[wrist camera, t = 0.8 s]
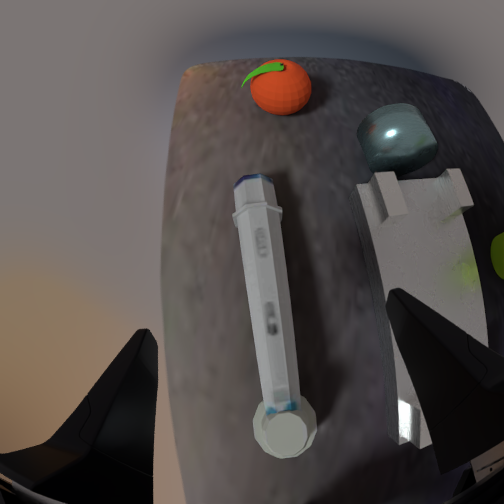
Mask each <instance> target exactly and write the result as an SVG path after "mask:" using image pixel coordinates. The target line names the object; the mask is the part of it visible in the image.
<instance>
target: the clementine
mask: <svg viewBox="0 0 504 504" xmlns="http://www.w3.org/2000/svg"><path fill="white" fill-rule="evenodd" d="M251 77H252V79H251V86H250V88H251V93H252V97H253V99H254V100H255V102H256V103H257V104H258V106H259V107H261V108H262V109H263V110H265V111H267V112H269V113H271V114H275V115H289V114H292V113H295V112H297V111H299V110H300V109H301V108H302V107H303V106H304V105H305V104H306V103H307V102H308V100H309V98H310V95H311V81H310V79H309V77H308V74H307V73H306V71H305V70H304V69H303V68H302V67H301V66H299V65H298V64H296V63H294V62H292V61H289V60H284V59H276V60H271V61H268V62H266V63H264V64H263V65H261V66H260V67H259V68H257V69H255V70H254V71H253V72H251V73H250V74H249V75H248V76H247V77H246V79H245V80H244V82H243V85H244V83H245V82H246V81H247V80H248V79H250V78H251ZM243 85H242V87H243ZM242 87H241V88H242Z"/></svg>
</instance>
